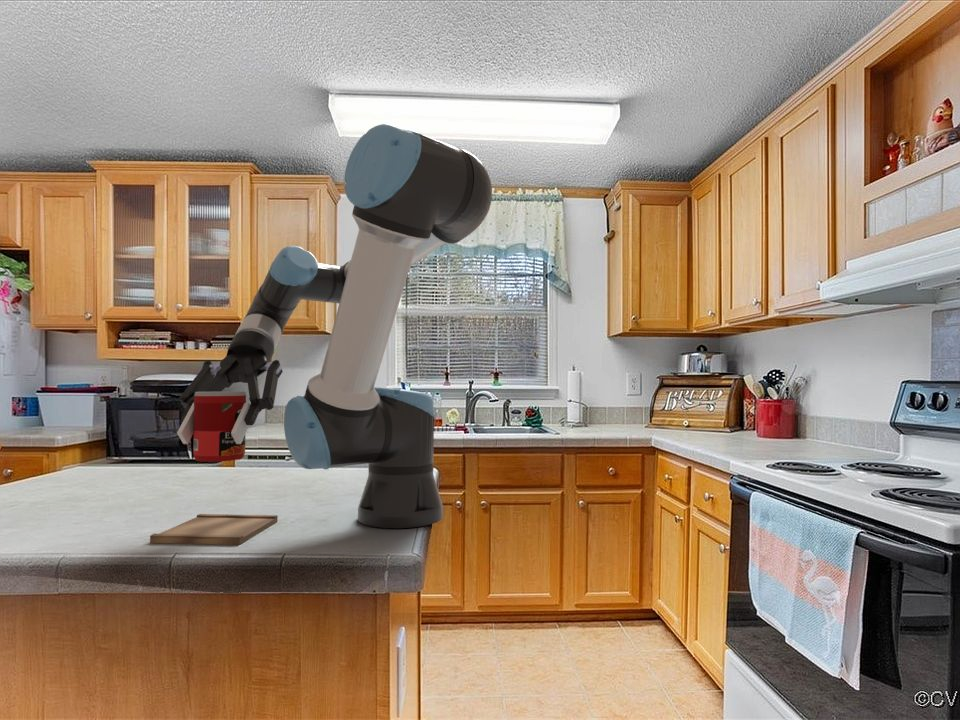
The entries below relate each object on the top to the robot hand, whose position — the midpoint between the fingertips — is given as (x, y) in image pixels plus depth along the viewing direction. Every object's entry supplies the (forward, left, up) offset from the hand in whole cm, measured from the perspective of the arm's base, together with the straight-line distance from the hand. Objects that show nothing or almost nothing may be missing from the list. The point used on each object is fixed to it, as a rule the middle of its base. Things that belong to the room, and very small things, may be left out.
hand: (209, 438), depth 91 cm
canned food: (0, -3, -4) cm, 5 cm away
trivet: (0, -4, -16) cm, 16 cm away
